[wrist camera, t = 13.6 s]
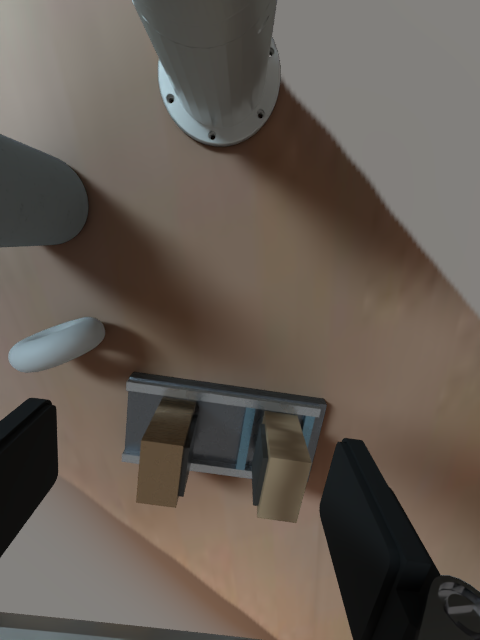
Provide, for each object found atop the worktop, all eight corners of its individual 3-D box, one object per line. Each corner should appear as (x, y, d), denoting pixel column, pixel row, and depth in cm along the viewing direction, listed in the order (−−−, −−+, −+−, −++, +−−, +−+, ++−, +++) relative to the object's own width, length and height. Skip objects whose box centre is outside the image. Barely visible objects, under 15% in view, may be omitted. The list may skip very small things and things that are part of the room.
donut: (52, 352, 41) (-6, 388, 31) (41, 328, 40) (-23, 357, 31) (122, 331, 40) (84, 361, 31) (112, 306, 39) (69, 329, 30)
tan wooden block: (250, 460, 43) (252, 516, 35) (260, 410, 41) (264, 456, 33) (285, 465, 43) (296, 522, 35) (297, 415, 41) (311, 463, 33)
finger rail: (133, 371, 42) (98, 415, 31) (323, 398, 42) (349, 450, 32) (128, 450, 45) (94, 513, 35) (305, 473, 46) (323, 542, 35)
